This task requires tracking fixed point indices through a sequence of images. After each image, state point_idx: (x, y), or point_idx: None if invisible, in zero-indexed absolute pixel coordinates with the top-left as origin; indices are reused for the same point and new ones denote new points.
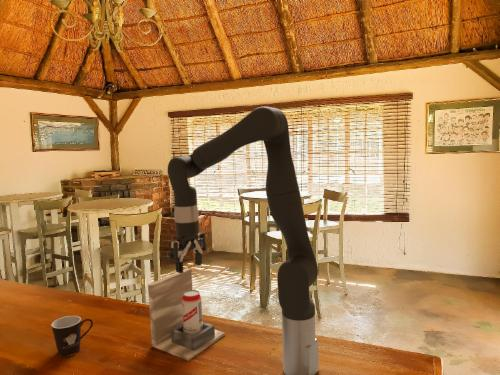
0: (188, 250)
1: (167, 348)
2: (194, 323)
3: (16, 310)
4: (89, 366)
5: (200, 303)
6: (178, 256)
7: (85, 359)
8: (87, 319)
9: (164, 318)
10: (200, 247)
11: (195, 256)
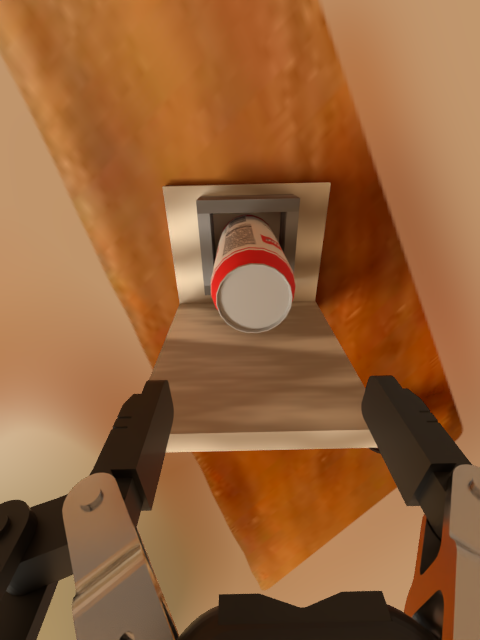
0: (360, 616)
1: (315, 266)
2: (269, 232)
3: (318, 536)
4: (421, 350)
5: (238, 244)
6: (432, 553)
7: (402, 372)
8: (377, 450)
9: (293, 331)
10: (81, 595)
11: (155, 478)
